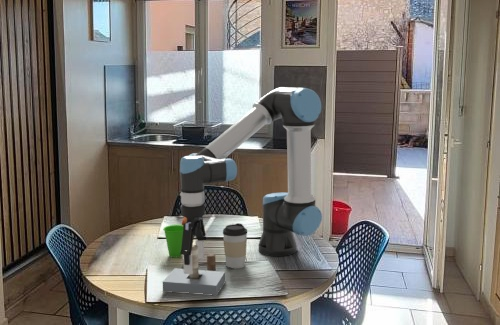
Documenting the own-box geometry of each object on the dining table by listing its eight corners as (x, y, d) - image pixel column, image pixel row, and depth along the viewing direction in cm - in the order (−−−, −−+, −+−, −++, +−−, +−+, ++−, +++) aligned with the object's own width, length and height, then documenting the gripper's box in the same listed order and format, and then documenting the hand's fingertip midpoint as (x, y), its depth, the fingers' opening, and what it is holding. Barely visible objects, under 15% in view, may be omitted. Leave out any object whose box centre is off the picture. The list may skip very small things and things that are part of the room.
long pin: (199, 285, 183) (199, 245, 180) (197, 288, 180) (196, 248, 177) (191, 284, 183) (190, 244, 181) (188, 288, 180) (187, 247, 178)
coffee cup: (238, 271, 195) (238, 230, 192) (218, 266, 200) (217, 227, 197) (252, 263, 203) (252, 224, 200) (232, 259, 207) (231, 221, 205)
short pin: (216, 270, 196) (216, 254, 195) (214, 273, 193) (214, 257, 192) (208, 269, 196) (208, 253, 195) (206, 272, 194) (205, 256, 192)
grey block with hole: (225, 281, 186) (225, 271, 185) (216, 295, 174) (216, 285, 173) (174, 277, 189) (174, 268, 188) (162, 291, 177) (162, 281, 177)
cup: (183, 260, 206) (182, 232, 204) (160, 258, 208) (159, 230, 206) (190, 252, 215) (190, 225, 213) (168, 250, 217) (168, 224, 215)
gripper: (192, 194, 189) (194, 252, 193) (168, 213, 165) (171, 279, 169) (213, 195, 188) (214, 253, 192) (192, 214, 164) (194, 281, 168)
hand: (194, 266), depth 180 cm, fingers open, 13 cm apart
